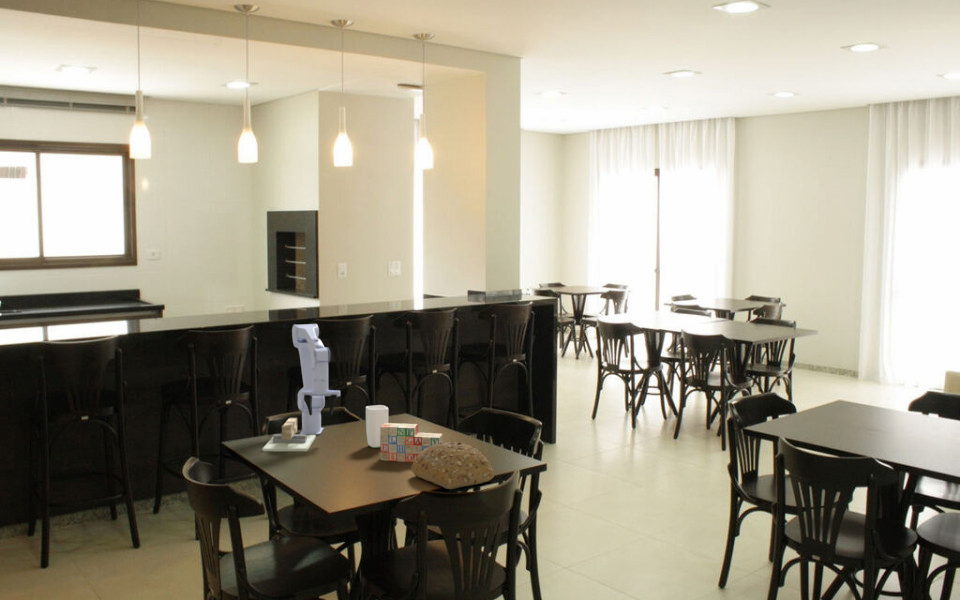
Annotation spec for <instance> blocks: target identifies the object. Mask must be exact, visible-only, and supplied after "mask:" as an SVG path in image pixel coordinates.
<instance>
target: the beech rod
mask: <svg viewBox="0 0 960 600" xmlns="http://www.w3.org/2000/svg"><path fill="white" fill-rule="evenodd" d="M297 432H298V417H289V418H288V419H287V420H286V421H285V423H284V424H283V425H281V434H282V440H291V438H292V437H293V436H294V434H296V433H297Z"/></svg>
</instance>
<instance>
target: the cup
mask: <svg viewBox="0 0 960 600" xmlns="http://www.w3.org/2000/svg"><path fill="white" fill-rule="evenodd" d="M384 423H389V407H388V406H386V405H382V404H378V405H377V404H376V405H367V406H365V429H366V431H365V432H366V438H367V444H368V446H369V447H371V448H372V449H378V448H380V427H381V426H382V425H383V424H384Z"/></svg>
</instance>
